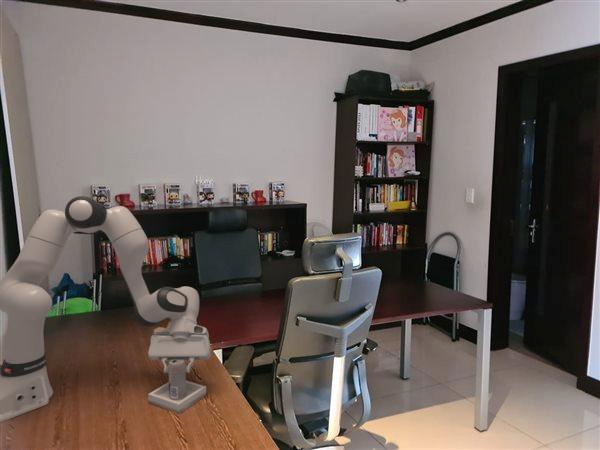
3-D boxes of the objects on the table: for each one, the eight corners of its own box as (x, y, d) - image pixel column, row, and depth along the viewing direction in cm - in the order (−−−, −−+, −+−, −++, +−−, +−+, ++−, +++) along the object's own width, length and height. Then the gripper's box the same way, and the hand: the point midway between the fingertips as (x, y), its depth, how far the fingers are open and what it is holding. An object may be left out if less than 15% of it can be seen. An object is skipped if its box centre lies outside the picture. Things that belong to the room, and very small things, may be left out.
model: (154, 346, 194) (153, 329, 192) (168, 337, 204) (168, 320, 202) (160, 347, 193) (160, 330, 191) (175, 338, 203) (174, 321, 201)
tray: (178, 413, 143) (178, 404, 142) (148, 402, 149) (148, 394, 148) (206, 394, 154) (206, 386, 153) (176, 385, 160) (176, 377, 160)
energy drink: (179, 390, 155) (178, 356, 153) (189, 395, 151) (188, 361, 150) (166, 396, 151) (164, 362, 149) (176, 402, 147) (174, 366, 146)
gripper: (150, 328, 155) (142, 369, 146) (211, 328, 155) (206, 368, 147) (154, 336, 160) (146, 375, 152) (213, 335, 160) (209, 375, 152)
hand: (176, 372), depth 149 cm, fingers closed on energy drink, 5 cm apart
